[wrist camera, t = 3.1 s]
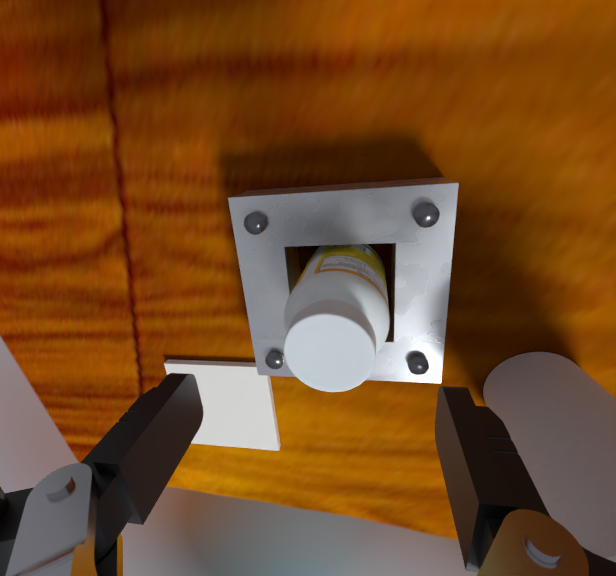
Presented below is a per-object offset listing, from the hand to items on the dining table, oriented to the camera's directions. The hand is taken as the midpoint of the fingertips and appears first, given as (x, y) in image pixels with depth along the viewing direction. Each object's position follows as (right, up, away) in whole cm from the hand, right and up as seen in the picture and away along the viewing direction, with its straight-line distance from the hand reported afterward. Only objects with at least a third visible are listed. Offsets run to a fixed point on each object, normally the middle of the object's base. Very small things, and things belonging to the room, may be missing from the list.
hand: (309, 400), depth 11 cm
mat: (-7, -7, +18) cm, 21 cm away
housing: (+3, +5, +12) cm, 13 cm away
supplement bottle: (+3, +5, +12) cm, 13 cm away
